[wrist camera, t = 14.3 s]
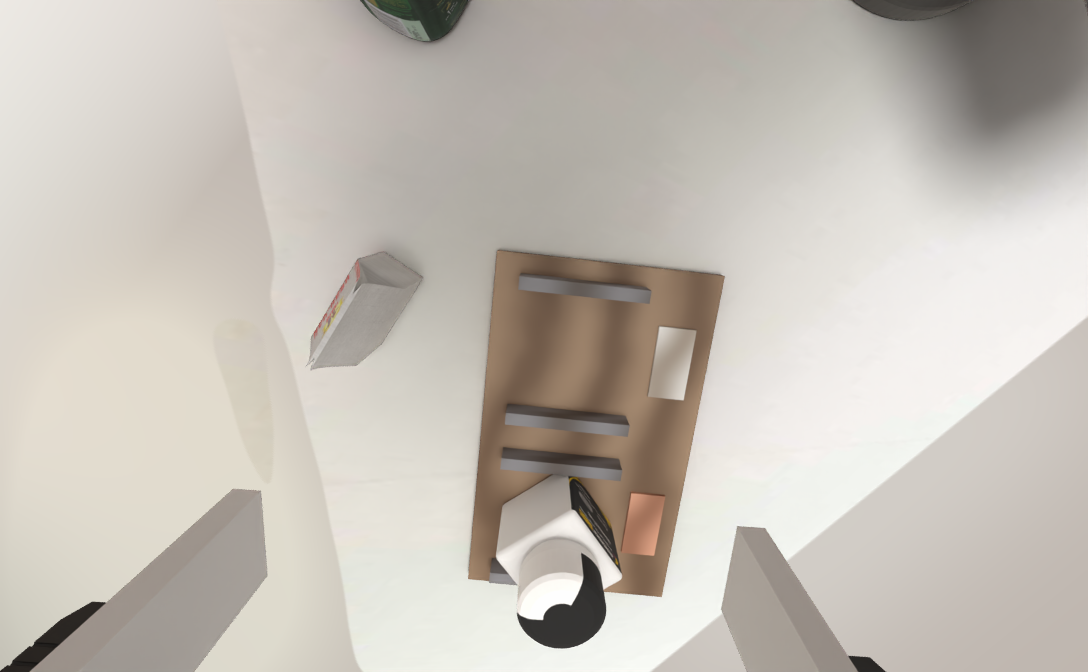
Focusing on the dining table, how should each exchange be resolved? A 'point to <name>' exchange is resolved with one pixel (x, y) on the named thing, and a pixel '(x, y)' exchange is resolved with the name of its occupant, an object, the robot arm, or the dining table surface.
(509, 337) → the stand
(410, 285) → the grey boxy piece
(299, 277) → the dining table surface
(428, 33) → the coffee jar
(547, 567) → the medicine bottle
